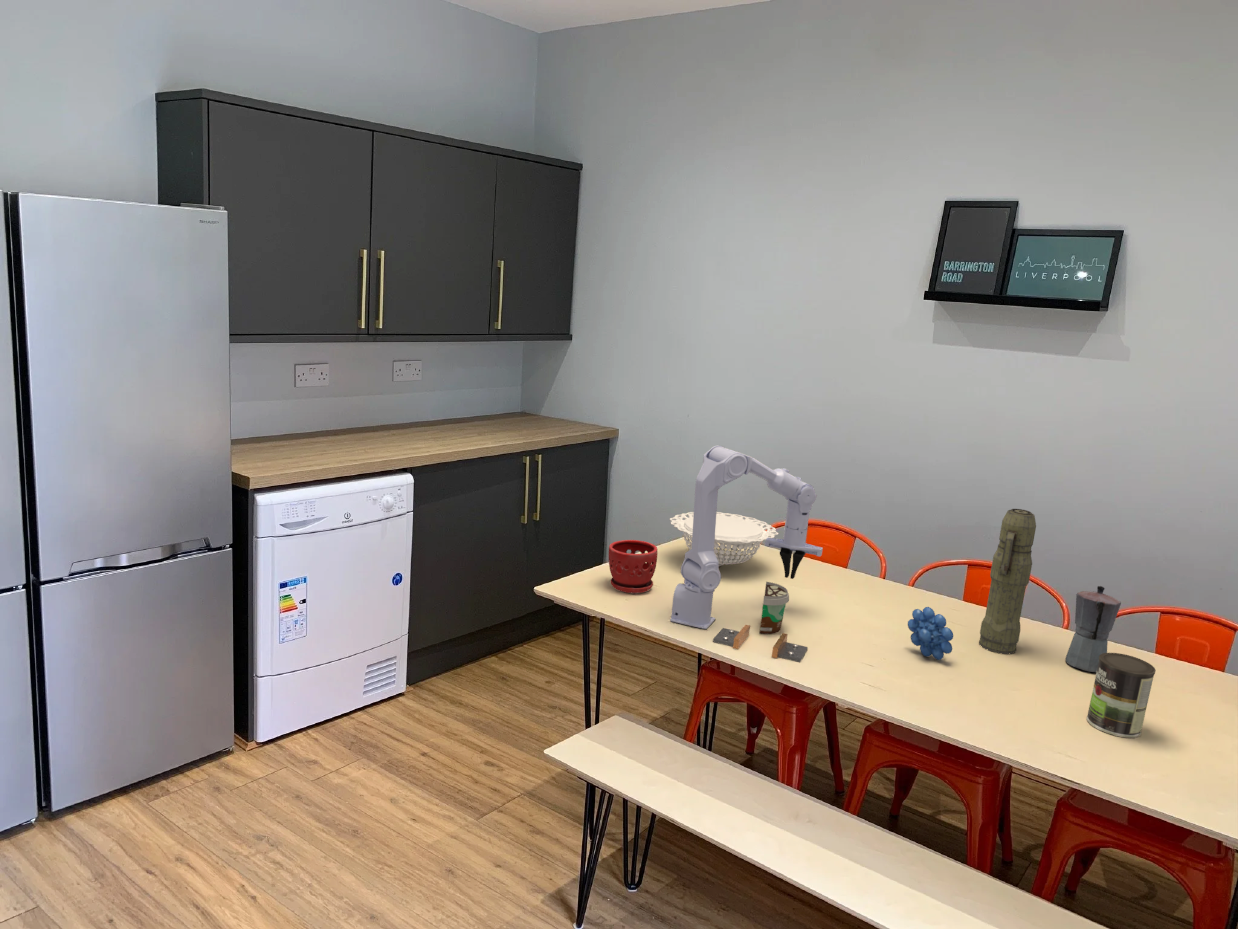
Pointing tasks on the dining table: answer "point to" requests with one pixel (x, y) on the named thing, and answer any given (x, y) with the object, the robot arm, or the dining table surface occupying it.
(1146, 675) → the coffee can
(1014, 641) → the thermos
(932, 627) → the grapes
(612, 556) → the plant pot
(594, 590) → the dining table surface
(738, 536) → the white lattice basket
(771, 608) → the food container
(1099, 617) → the moka pot
